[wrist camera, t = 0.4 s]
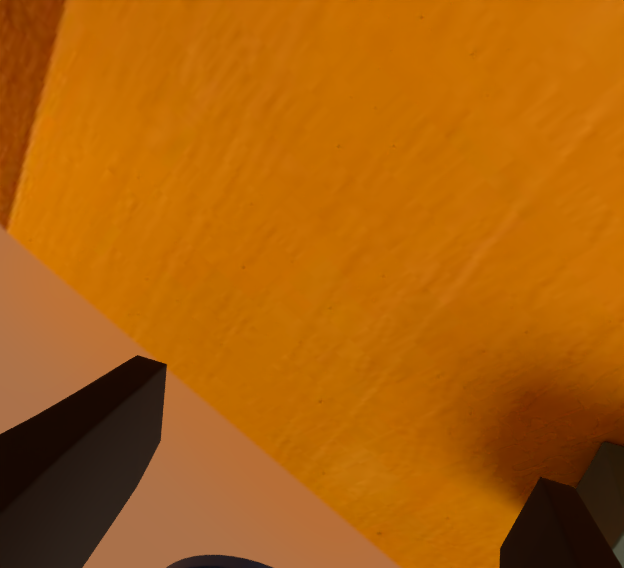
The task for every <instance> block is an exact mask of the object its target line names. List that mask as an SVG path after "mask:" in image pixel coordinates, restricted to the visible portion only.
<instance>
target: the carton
mask: <svg viewBox="0 0 624 568" xmlns="http://www.w3.org/2000/svg"><path fill="white" fill-rule="evenodd" d="M576 491H577V492H578V494H579V496H580V497H581V499H582V500H583V502H584V504H585V505H586V507H587V509H588V510H589V512H590V514H591V515H592V517H593V519H594V520H595V522H596V524H597V526H598V527H599V529H600V531H601V532H602V534H603V536H604V537H605V539H606V541H607V542H608V544H609V546H610V547H611V549H612V551H613V552H614V554H615V556H616V557H617V559H618V561H619V562H620V564H621V565H622V567H623V568H624V447H622V446H619V445H615V444H612V443H608V442H603V443H602V445H601V447H600V448H599V450H598V452H597V454H596V455H595V457H594V459H593V460H592V462H591V464H590V465H589V467H588V469H587V470H586V472H585V474H584V475H583V477H582V479H581V481H580V482H579V484H578V486H577V487H576Z"/></svg>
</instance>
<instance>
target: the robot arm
mask: <svg viewBox="0 0 624 568" xmlns="http://www.w3.org/2000/svg"><path fill="white" fill-rule="evenodd" d="M166 368H167V364H165V363H161V362H158V361H155V360H151V359H148V358H145V357H141V356H138V355H137V356H135V357H133V358H132V359H130V360H128V361H127V362H125V363H123V364H121V365H120V366H118V367H117V368H115V369H113V370H112V371H110V372H109V373H107V374H106V375H104V376H102V377H100V378H99V379H97V380H95V381H94V382H92V383H90V384H89V385H87V386H86V387H84V388H82V389H81V390H79V391H77V392H76V393H74V394H72V395H70V396H69V397H67V398H65V399H64V400H62V401H60V402H59V403H57V404H55V405H53V406H51V407H50V408H48V409H46V410H44V411H43V412H41V413H39V414H38V415H36V416H34V417H32V418H30V419H28V420H27V421H25V422H23V423H21V424H19V425H17V426H15V427H13V428H11V429H9V430H7V431H5V432H4V433H2V434H0V568H82V567H83V566H84V564H85V563H86V561H87V560H88V559H89V557H90V556H91V554H92V552H93V551H94V550H95V548H96V547H97V545H98V544H99V542H100V541H101V539H102V538H103V536H104V535H105V533H106V532H107V531H108V529H109V528H110V526H111V525H112V523H113V522H114V520H115V519H116V517H117V516H118V514H119V513H120V511H121V510H122V508H123V507H124V505H125V504H126V502H127V501H128V499H129V498H130V496H131V495H132V493H133V492H134V490H135V489H136V487H137V485H138V483H139V482H140V480H141V478H142V476H143V474H144V472H145V470H146V468H147V467H148V465H149V462H150V460H151V459H152V456H153V454H154V453H155V450H156V449H157V447H158V445H159V443H160V441H161V428H162V417H163V405H164V393H165V380H166ZM500 568H623V567H622V565H621V564H620V562H619V561H618V559H617V557H616V556H615V554H614V552H613V551H612V549H611V547H610V546H609V544H608V542H607V541H606V539H605V537H604V536H603V534H602V532H601V531H600V529H599V527H598V526H597V524H596V522H595V520H594V519H593V517H592V515H591V514H590V512H589V510H588V509H587V507H586V505H585V504H584V502H583V500H582V499H581V497H580V496H579V494H578V492H577V491H576V489H575V488H574V487H572V486H569V485H565V484H562V483H559V482H556V481H552V480H549V479H546V478H542V477H540V478H539V480H538V482H537V484H536V485H535V487H534V489H533V491H532V493H531V494H530V496H529V498H528V500H527V501H526V503H525V505H524V507H523V509H522V510H521V512H520V514H519V516H518V517H517V519H516V521H515V523H514V525H513V526H512V528H511V530H510V532H509V533H508V535H507V537H506V539H505V541H504V542H503V544H502V546H501V548H500Z"/></svg>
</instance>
